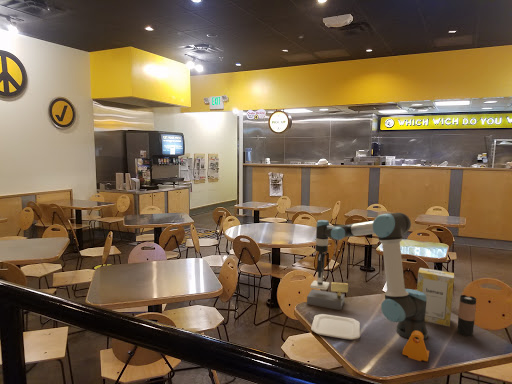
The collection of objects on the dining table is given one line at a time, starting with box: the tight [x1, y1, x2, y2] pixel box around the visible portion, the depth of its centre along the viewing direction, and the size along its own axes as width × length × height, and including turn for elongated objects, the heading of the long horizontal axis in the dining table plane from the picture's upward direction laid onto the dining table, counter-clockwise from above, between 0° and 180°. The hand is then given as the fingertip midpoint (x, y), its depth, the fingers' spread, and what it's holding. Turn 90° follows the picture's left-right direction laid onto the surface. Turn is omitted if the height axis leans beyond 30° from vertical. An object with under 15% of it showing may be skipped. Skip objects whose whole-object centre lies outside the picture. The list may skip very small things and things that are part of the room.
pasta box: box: [416, 267, 455, 328], centre depth 213 cm, size 18×10×28 cm, turn 62°
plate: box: [310, 313, 361, 341], centre depth 197 cm, size 25×25×2 cm
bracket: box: [402, 331, 430, 362], centre depth 172 cm, size 11×7×12 cm, turn 60°
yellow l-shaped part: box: [330, 281, 349, 298], centre depth 232 cm, size 10×10×9 cm
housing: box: [306, 288, 345, 311], centre depth 232 cm, size 14×21×5 cm, turn 69°
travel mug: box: [457, 294, 477, 337], centre depth 197 cm, size 8×8×20 cm
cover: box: [310, 268, 330, 291], centre depth 232 cm, size 11×10×12 cm
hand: (320, 281), depth 232 cm, fingers closed on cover, 3 cm apart
